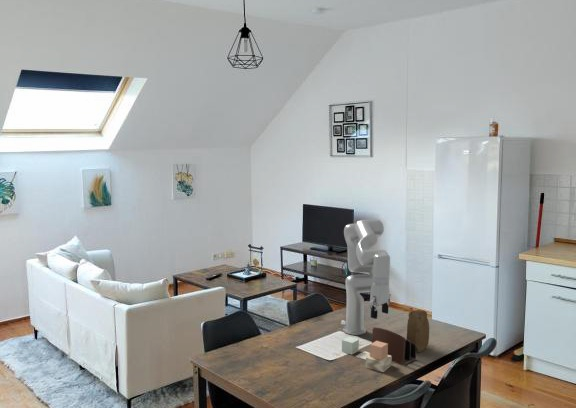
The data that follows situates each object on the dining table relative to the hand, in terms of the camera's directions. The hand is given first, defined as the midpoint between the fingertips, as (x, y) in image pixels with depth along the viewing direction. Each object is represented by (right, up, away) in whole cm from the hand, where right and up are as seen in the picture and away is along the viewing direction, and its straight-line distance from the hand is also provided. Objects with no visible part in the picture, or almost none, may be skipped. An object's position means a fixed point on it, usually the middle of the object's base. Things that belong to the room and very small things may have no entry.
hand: (379, 315), depth 252 cm
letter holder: (+9, -23, +11) cm, 26 cm away
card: (-4, -22, +10) cm, 24 cm away
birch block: (-1, -24, -1) cm, 24 cm away
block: (+23, -21, +20) cm, 37 cm away
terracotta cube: (-1, -19, -2) cm, 19 cm away
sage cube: (-12, -21, +16) cm, 29 cm away
